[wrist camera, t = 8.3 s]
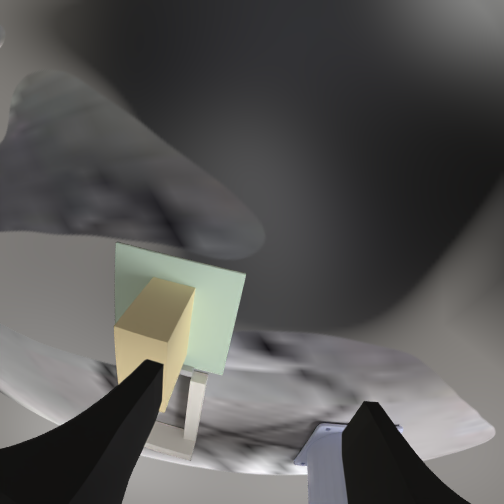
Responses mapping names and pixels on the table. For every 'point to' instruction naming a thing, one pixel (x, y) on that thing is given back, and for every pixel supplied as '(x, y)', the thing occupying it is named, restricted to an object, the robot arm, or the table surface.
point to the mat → (205, 300)
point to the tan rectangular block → (156, 331)
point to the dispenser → (184, 439)
